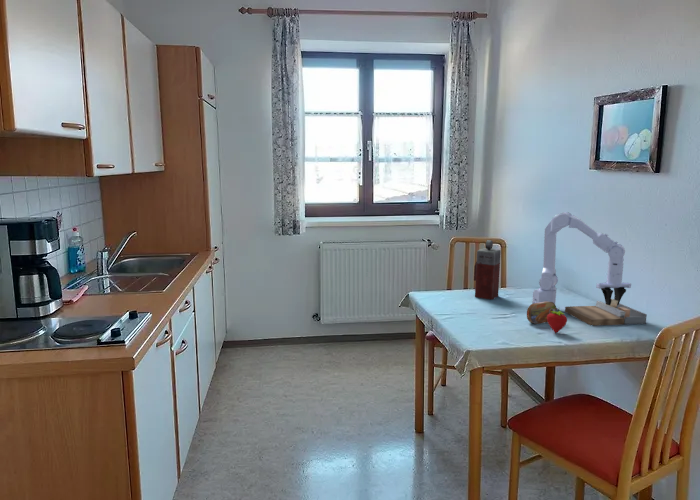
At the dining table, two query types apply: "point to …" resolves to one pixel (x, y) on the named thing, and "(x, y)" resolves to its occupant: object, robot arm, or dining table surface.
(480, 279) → the brown rectangular bottle
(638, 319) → the box
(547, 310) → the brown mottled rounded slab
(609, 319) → the board
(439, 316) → the dining table surface
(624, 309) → the tile
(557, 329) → the strawberry
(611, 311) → the grey bar with block
